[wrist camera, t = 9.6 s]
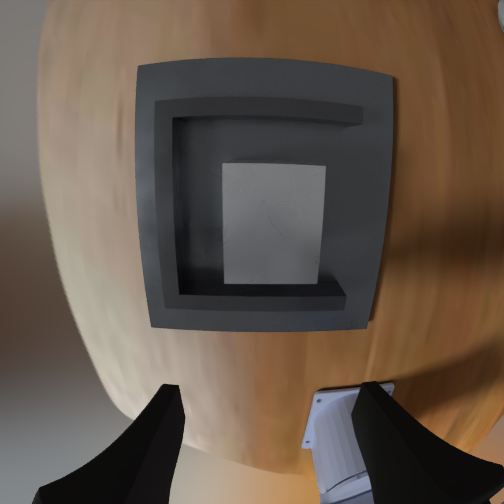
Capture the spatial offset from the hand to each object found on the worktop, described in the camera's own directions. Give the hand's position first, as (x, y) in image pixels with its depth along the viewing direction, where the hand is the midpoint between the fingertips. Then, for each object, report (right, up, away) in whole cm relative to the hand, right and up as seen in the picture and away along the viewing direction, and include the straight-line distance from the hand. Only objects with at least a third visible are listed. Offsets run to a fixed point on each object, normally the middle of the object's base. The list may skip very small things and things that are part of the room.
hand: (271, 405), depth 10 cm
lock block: (0, +9, +7) cm, 11 cm away
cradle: (0, +9, +8) cm, 12 cm away
